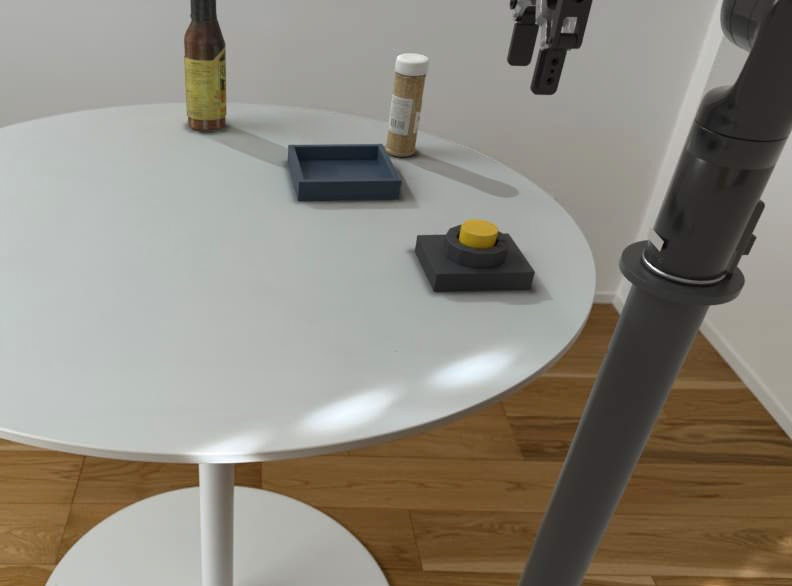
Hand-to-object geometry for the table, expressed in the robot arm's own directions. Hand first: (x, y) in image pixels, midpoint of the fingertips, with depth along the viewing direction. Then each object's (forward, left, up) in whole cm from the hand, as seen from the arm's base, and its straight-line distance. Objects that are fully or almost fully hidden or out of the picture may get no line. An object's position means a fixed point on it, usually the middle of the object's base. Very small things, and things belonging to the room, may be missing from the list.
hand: (529, 78), depth 74 cm
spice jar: (+1, -38, -22) cm, 44 cm away
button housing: (0, -3, -22) cm, 23 cm away
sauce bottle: (+29, -49, -22) cm, 61 cm away
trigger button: (0, -3, -19) cm, 19 cm away
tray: (+11, -28, -22) cm, 38 cm away
